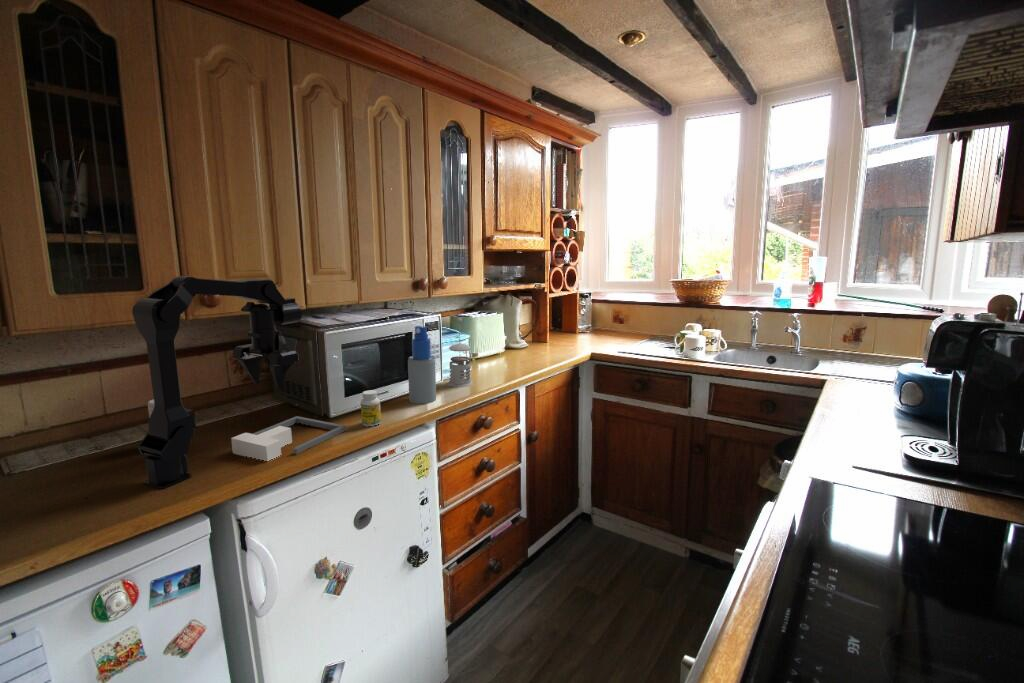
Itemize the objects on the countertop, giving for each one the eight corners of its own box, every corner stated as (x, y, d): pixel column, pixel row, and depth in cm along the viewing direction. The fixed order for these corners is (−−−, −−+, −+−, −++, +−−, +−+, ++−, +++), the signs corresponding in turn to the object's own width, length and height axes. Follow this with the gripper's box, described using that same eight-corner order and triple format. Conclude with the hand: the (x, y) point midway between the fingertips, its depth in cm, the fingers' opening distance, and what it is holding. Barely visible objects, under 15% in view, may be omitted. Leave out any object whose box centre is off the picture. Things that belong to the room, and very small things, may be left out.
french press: (442, 385, 180) (440, 318, 175) (457, 377, 191) (456, 314, 186) (465, 388, 176) (464, 320, 171) (480, 380, 187) (479, 316, 182)
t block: (267, 462, 116) (266, 446, 115) (232, 453, 121) (231, 438, 120) (303, 445, 126) (302, 430, 125) (270, 437, 131) (268, 423, 130)
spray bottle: (426, 405, 158) (424, 329, 153) (403, 401, 161) (401, 327, 156) (441, 397, 166) (439, 325, 161) (418, 394, 169) (416, 323, 164)
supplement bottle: (382, 420, 144) (381, 389, 142) (379, 426, 139) (378, 394, 137) (363, 420, 144) (362, 389, 142) (360, 427, 138) (358, 395, 137)
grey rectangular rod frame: (297, 454, 120) (296, 448, 120) (244, 442, 127) (244, 436, 127) (346, 430, 136) (345, 425, 136) (297, 420, 143) (296, 416, 143)
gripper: (314, 326, 128) (317, 383, 131) (267, 320, 137) (272, 374, 140) (276, 332, 119) (281, 394, 121) (229, 326, 127) (234, 383, 130)
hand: (268, 385), depth 128 cm, fingers open, 9 cm apart
